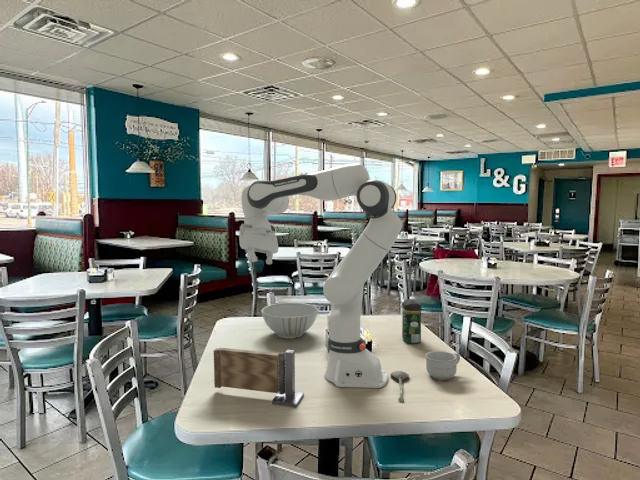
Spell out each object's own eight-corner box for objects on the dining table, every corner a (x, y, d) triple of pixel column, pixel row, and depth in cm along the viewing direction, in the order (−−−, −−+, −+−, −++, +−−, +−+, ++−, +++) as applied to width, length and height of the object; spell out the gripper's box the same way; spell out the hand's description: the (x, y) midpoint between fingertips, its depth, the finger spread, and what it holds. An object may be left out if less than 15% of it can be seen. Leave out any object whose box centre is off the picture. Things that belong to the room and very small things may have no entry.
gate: (286, 393, 133) (285, 352, 132) (284, 395, 131) (283, 354, 130) (217, 384, 139) (216, 346, 138) (214, 387, 137) (213, 348, 136)
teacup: (435, 384, 143) (435, 362, 142) (419, 372, 153) (420, 351, 152) (470, 380, 146) (471, 358, 146) (452, 368, 157) (453, 347, 156)
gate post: (303, 395, 135) (303, 347, 133) (296, 407, 127) (295, 356, 126) (280, 392, 137) (280, 345, 135) (271, 404, 129) (271, 354, 128)
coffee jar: (400, 337, 193) (400, 297, 191) (417, 337, 193) (418, 297, 191) (404, 344, 183) (405, 303, 181) (422, 344, 183) (423, 303, 181)
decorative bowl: (298, 348, 179) (298, 320, 177) (249, 337, 192) (249, 312, 191) (328, 331, 202) (328, 306, 201) (283, 323, 215) (283, 300, 214)
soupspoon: (408, 376, 152) (390, 376, 153) (408, 367, 152) (390, 367, 153) (411, 403, 130) (390, 402, 132) (411, 392, 130) (389, 391, 131)
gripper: (246, 219, 146) (252, 257, 142) (278, 229, 164) (283, 263, 160) (232, 225, 148) (237, 262, 145) (265, 233, 166) (270, 267, 163)
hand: (262, 262), depth 153 cm, fingers open, 8 cm apart
